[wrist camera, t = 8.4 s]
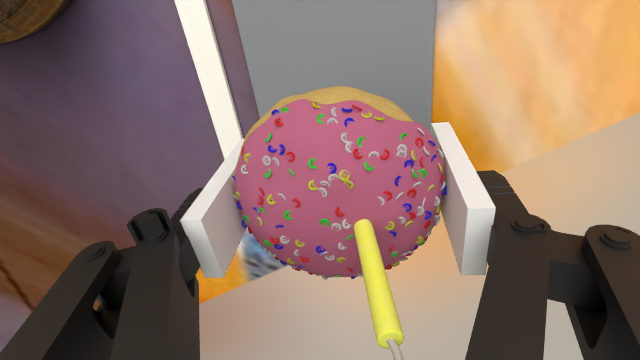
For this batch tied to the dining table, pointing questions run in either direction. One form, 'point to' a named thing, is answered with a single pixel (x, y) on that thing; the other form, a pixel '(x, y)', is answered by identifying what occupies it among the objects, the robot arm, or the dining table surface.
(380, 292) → the cupcake
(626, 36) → the dining table surface
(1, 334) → the dining table surface
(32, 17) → the owl figurine
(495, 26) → the dining table surface
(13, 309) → the dining table surface
